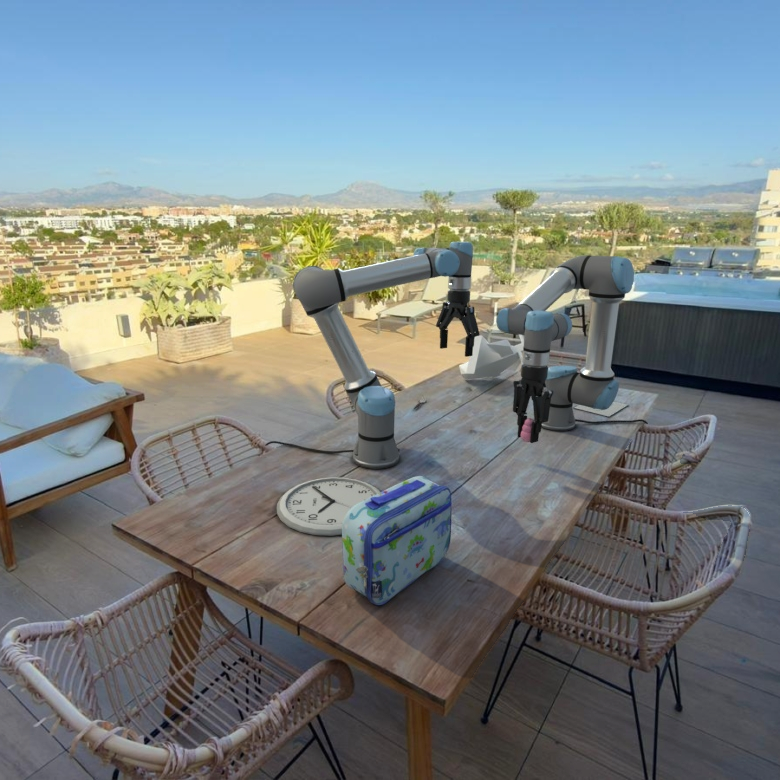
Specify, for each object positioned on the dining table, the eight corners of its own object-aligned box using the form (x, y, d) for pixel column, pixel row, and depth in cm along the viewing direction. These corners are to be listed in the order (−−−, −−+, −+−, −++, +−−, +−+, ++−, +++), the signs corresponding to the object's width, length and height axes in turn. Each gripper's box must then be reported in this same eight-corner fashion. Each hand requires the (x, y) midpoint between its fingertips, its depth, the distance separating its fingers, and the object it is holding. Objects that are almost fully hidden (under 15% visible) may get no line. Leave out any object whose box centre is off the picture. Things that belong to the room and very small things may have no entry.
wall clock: (392, 527, 129) (268, 531, 127) (391, 533, 130) (269, 537, 127) (383, 473, 158) (282, 475, 155) (383, 478, 158) (282, 480, 156)
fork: (410, 410, 218) (411, 405, 217) (421, 399, 232) (422, 394, 231) (416, 411, 217) (417, 406, 216) (427, 399, 231) (427, 395, 230)
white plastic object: (480, 422, 262) (459, 399, 237) (462, 348, 284) (440, 320, 259) (552, 397, 249) (538, 371, 225) (527, 322, 271) (511, 291, 247)
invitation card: (608, 416, 214) (573, 407, 224) (608, 416, 214) (573, 408, 224) (628, 404, 229) (594, 396, 238) (628, 405, 229) (594, 397, 238)
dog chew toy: (527, 436, 162) (529, 415, 160) (538, 441, 159) (540, 419, 156) (516, 439, 160) (518, 417, 158) (527, 444, 156) (530, 422, 154)
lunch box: (371, 618, 102) (371, 524, 95) (336, 591, 109) (334, 502, 103) (455, 562, 119) (460, 479, 113) (420, 542, 126) (423, 463, 120)
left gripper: (427, 286, 182) (425, 346, 189) (475, 294, 162) (471, 361, 169) (444, 285, 186) (442, 344, 193) (493, 293, 166) (488, 358, 172)
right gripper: (504, 360, 157) (498, 432, 164) (549, 373, 143) (541, 451, 150) (521, 356, 161) (515, 427, 168) (568, 369, 147) (558, 446, 154)
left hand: (455, 352), depth 181 cm, fingers open, 13 cm apart
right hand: (527, 438), depth 159 cm, fingers closed on dog chew toy, 4 cm apart
